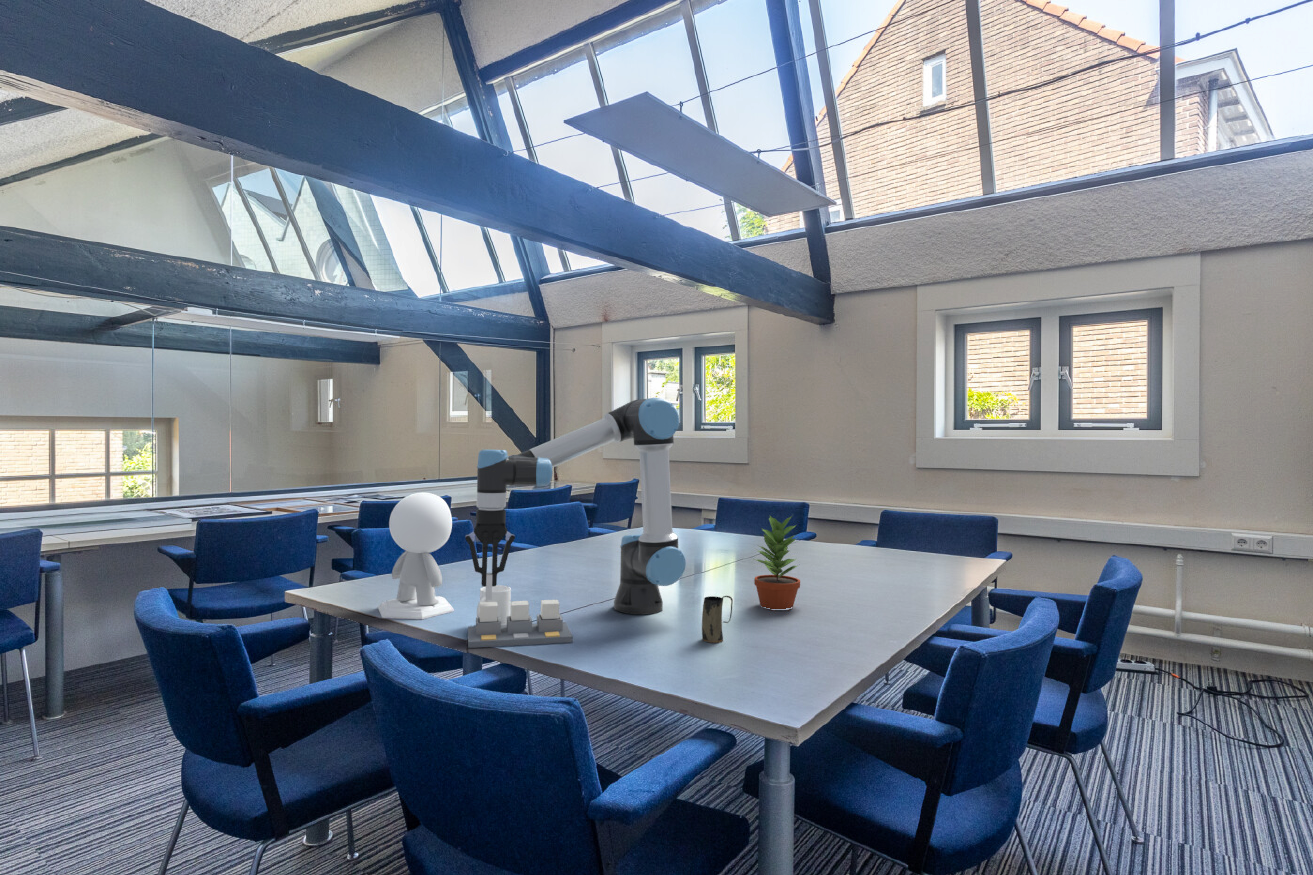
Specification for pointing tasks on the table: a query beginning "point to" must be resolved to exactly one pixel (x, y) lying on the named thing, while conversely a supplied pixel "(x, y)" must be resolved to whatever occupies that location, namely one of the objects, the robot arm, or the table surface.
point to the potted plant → (777, 569)
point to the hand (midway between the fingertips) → (488, 598)
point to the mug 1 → (498, 601)
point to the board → (518, 632)
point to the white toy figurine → (418, 556)
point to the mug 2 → (713, 619)
